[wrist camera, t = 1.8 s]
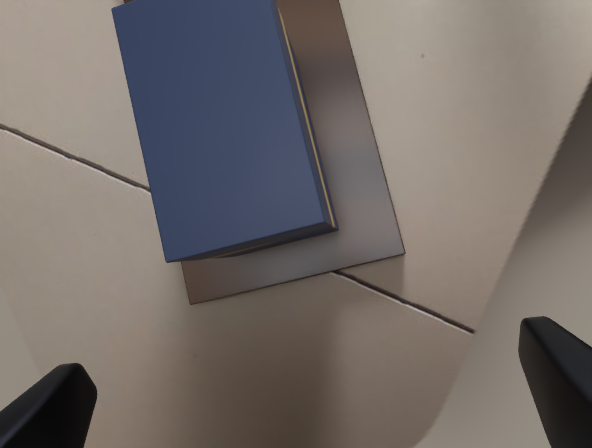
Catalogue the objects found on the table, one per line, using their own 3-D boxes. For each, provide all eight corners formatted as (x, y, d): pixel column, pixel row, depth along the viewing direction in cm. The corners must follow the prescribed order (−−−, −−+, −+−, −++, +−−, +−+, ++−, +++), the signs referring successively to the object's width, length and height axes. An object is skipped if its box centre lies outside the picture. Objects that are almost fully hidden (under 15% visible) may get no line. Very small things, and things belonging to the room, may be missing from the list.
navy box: (339, 230, 23) (326, 222, 15) (232, 257, 23) (164, 263, 16) (294, 52, 23) (259, -45, 16) (192, 85, 24) (110, 8, 16)
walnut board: (404, 253, 23) (405, 253, 22) (195, 303, 25) (189, 305, 24) (306, -119, 25) (304, -131, 24) (118, -49, 26) (110, -58, 26)
